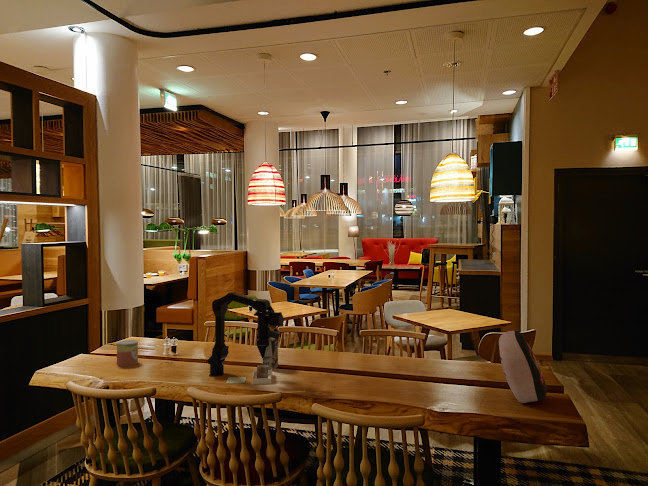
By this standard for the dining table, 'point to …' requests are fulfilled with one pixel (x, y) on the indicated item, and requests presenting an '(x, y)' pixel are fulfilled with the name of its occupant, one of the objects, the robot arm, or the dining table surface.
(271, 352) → the coffee box
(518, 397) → the packaged food
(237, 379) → the sage mat
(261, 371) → the walnut box
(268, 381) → the carton
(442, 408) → the dining table surface
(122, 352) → the canned food
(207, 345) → the dining table surface
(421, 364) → the dining table surface
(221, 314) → the robot arm
